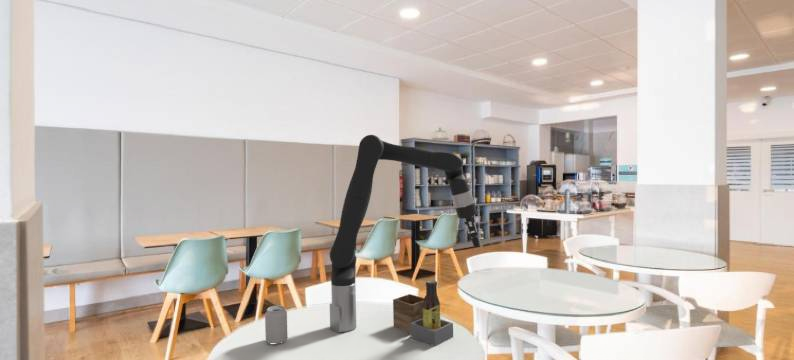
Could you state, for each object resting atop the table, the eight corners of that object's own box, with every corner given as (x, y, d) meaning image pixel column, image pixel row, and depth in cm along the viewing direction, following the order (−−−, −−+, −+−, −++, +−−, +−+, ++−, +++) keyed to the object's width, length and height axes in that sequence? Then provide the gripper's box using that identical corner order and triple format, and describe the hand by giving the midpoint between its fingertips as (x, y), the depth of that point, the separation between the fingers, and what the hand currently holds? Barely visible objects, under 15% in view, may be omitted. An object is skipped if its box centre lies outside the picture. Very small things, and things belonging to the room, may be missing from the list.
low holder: (434, 346, 134) (434, 331, 134) (410, 336, 142) (410, 323, 142) (453, 336, 141) (452, 323, 141) (429, 328, 149) (429, 315, 149)
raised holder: (413, 333, 144) (412, 305, 144) (393, 326, 152) (393, 299, 151) (429, 326, 151) (428, 299, 151) (410, 320, 158) (409, 294, 158)
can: (267, 347, 136) (266, 312, 135) (264, 339, 142) (263, 306, 142) (289, 342, 139) (288, 309, 139) (285, 335, 146) (284, 303, 145)
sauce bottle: (434, 342, 137) (433, 285, 136) (419, 338, 141) (418, 282, 140) (444, 335, 142) (443, 280, 142) (429, 331, 146) (428, 278, 145)
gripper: (454, 205, 158) (465, 243, 158) (455, 209, 144) (467, 251, 144) (472, 200, 157) (484, 239, 157) (475, 203, 143) (487, 246, 143)
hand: (476, 245), depth 151 cm, fingers open, 8 cm apart
